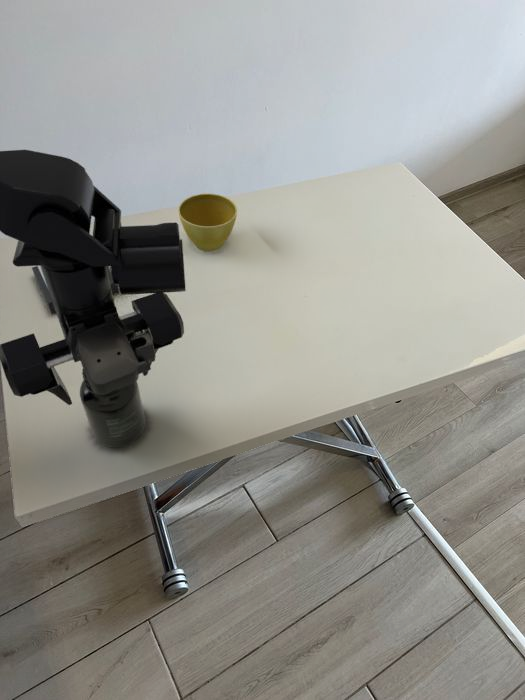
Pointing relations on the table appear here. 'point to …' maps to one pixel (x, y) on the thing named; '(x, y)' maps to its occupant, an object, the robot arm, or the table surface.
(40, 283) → the kitchen scale
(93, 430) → the supplement bottle
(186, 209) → the flower pot
